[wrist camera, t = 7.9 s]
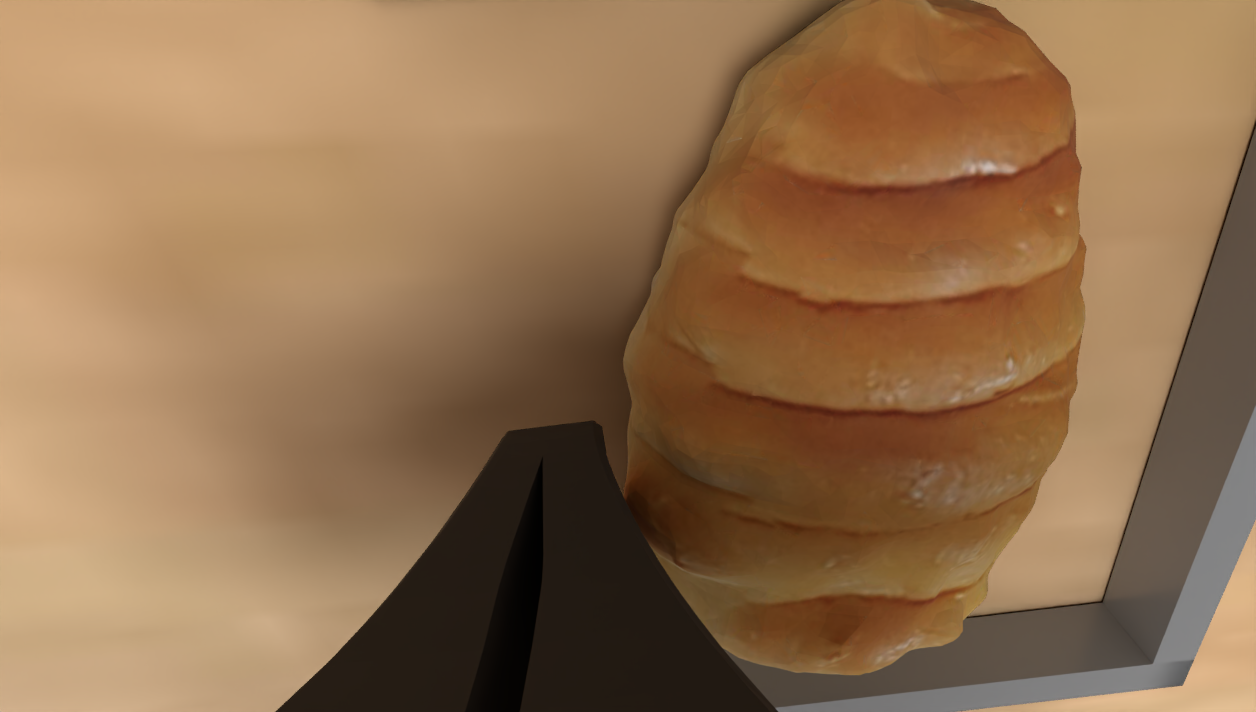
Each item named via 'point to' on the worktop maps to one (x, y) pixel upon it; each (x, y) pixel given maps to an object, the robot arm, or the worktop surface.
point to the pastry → (861, 336)
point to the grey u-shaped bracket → (1149, 554)
